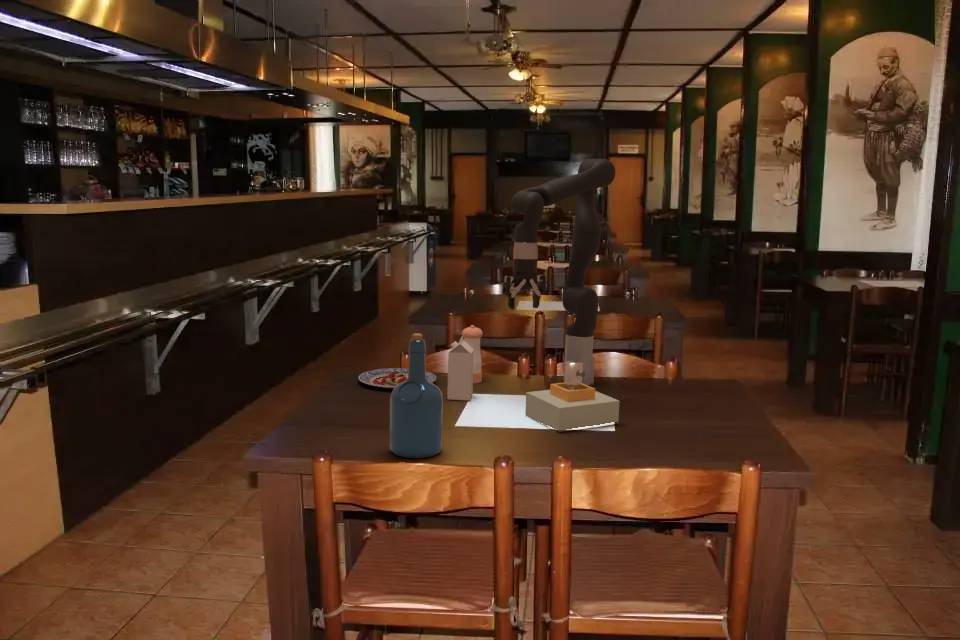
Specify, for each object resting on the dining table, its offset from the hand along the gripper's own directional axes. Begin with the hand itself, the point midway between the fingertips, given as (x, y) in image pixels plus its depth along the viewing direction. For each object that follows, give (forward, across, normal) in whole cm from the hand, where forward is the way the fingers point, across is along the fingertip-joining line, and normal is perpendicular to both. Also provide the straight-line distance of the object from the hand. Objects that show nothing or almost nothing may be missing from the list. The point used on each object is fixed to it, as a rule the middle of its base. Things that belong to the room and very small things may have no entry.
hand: (523, 308), depth 260 cm
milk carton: (+28, +19, -5) cm, 34 cm away
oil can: (+21, 0, +30) cm, 37 cm away
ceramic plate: (+29, +30, -30) cm, 51 cm away
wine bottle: (+28, +52, +37) cm, 70 cm away
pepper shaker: (+28, +6, -23) cm, 37 cm away
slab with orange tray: (+28, 0, +29) cm, 40 cm away
